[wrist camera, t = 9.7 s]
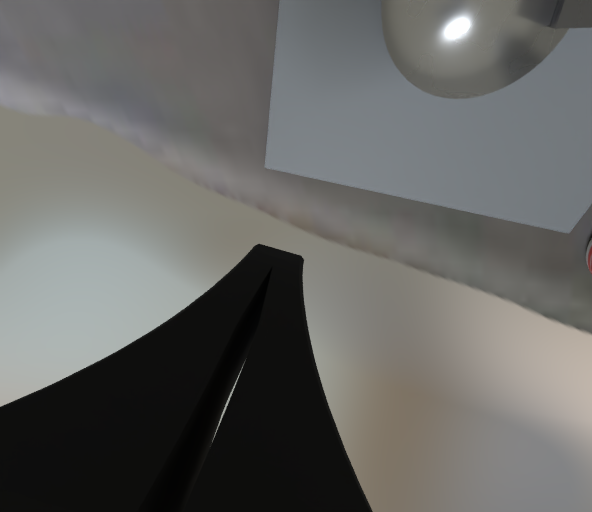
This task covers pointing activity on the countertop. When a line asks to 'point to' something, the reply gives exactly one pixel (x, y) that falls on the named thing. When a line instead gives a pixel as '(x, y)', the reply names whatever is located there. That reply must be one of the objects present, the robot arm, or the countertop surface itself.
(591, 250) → the pill bottle
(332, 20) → the board
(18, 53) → the countertop surface
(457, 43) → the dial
